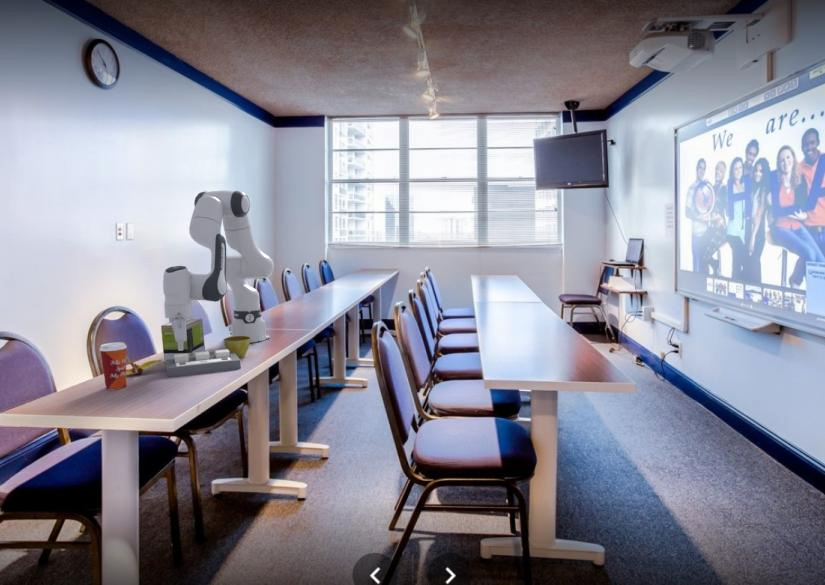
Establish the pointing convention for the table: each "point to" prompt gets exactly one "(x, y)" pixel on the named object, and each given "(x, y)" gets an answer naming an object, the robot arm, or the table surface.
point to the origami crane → (140, 366)
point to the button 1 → (181, 358)
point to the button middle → (202, 356)
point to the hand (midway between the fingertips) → (180, 349)
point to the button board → (202, 365)
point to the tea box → (190, 346)
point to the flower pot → (237, 344)
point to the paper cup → (114, 364)
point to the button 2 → (222, 353)
